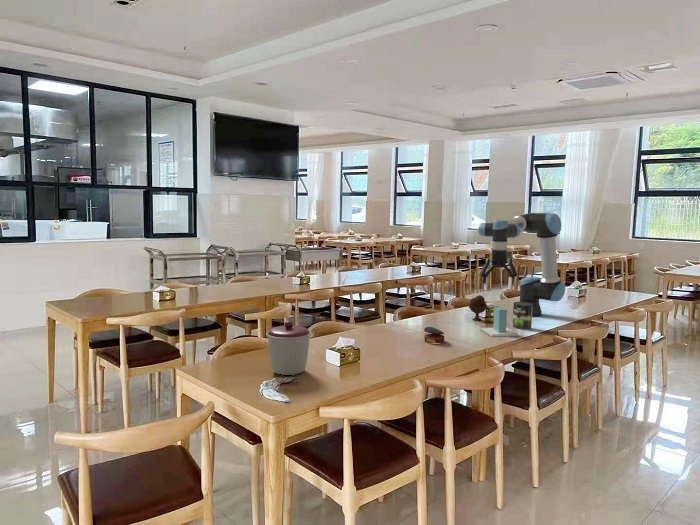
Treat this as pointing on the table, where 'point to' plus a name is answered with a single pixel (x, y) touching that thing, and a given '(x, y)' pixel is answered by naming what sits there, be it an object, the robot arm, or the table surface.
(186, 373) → the table surface
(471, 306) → the ice cream bowl
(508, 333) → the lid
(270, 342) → the canister
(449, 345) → the table surface
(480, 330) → the mat
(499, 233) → the robot arm
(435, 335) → the canned food
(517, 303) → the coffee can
